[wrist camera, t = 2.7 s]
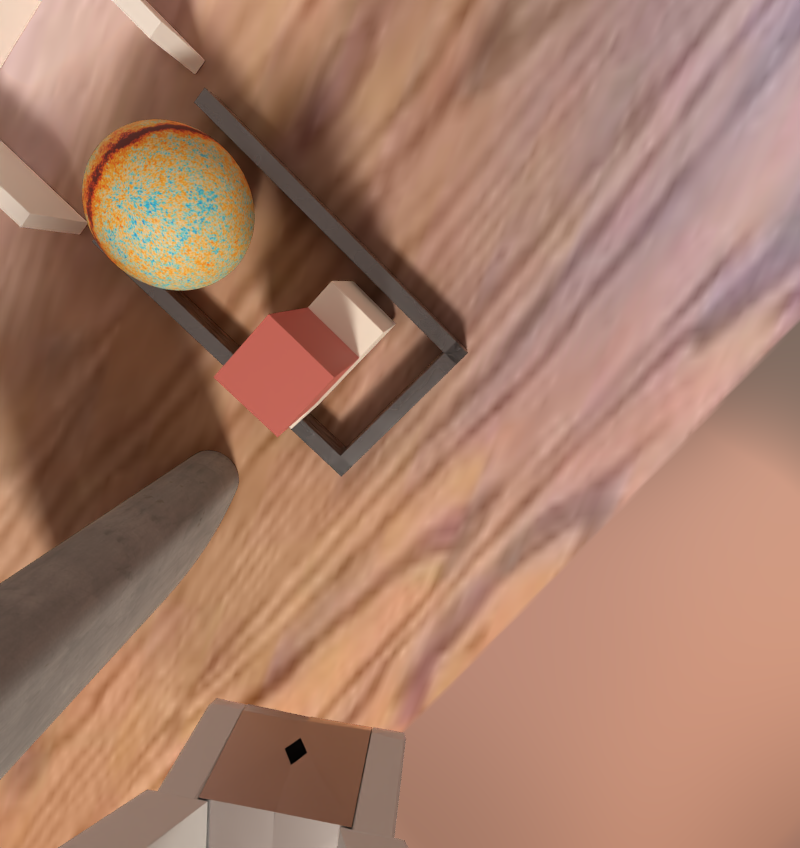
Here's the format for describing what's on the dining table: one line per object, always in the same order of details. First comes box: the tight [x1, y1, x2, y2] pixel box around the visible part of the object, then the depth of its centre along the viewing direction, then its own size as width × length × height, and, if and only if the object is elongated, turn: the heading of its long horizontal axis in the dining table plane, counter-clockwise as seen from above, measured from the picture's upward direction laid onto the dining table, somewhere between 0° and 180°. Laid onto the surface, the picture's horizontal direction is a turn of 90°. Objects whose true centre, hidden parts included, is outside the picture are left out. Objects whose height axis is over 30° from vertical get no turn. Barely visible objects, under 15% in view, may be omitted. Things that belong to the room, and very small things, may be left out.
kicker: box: [214, 281, 396, 437], centre depth 23 cm, size 6×3×10 cm, turn 136°
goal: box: [0, 0, 205, 235], centre depth 24 cm, size 11×8×5 cm
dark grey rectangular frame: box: [92, 88, 468, 476], centre depth 27 cm, size 9×17×2 cm, turn 46°
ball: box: [82, 119, 255, 290], centre depth 24 cm, size 7×7×7 cm
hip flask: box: [0, 451, 239, 779], centre depth 23 cm, size 16×4×20 cm, turn 141°
